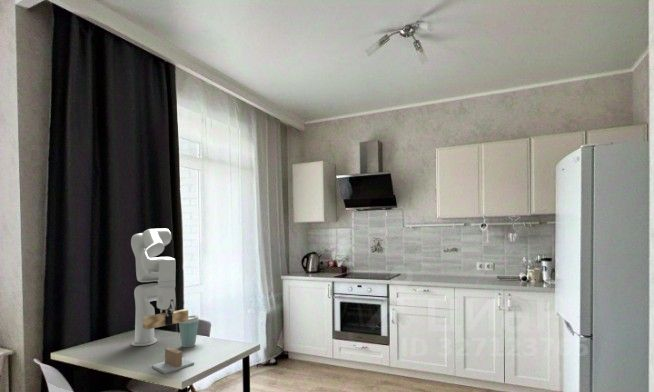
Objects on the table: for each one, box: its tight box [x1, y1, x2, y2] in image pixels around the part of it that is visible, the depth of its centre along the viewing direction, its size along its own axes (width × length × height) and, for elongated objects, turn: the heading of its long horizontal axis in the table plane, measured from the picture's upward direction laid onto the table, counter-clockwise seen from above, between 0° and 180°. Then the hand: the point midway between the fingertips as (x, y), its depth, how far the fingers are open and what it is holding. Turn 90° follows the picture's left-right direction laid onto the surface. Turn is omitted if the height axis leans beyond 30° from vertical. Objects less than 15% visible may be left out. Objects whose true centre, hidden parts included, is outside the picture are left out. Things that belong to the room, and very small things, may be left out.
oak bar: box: [143, 309, 189, 329], centre depth 181 cm, size 20×4×5 cm, turn 139°
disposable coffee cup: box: [178, 314, 200, 348], centre depth 205 cm, size 11×11×15 cm
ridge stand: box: [151, 347, 195, 375], centre depth 175 cm, size 12×14×7 cm
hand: (166, 323), depth 181 cm, fingers closed on oak bar, 4 cm apart
